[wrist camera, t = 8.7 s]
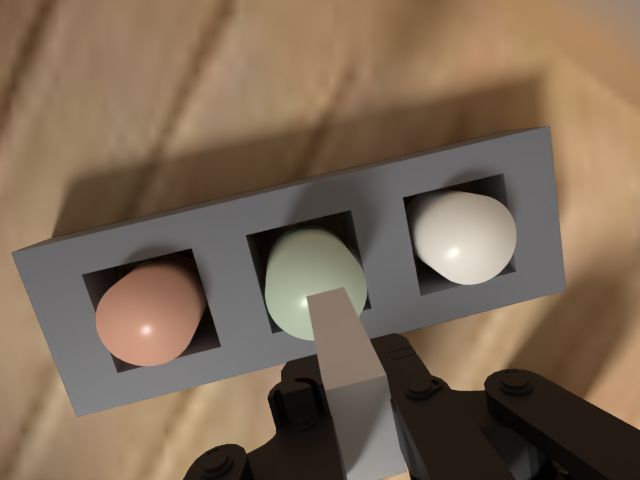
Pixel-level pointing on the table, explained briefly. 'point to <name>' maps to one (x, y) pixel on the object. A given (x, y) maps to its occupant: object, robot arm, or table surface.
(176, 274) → the pinkish-brown oval egg
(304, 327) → the pale green egg
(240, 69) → the table surface
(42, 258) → the grey egg tray
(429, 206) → the white egg
